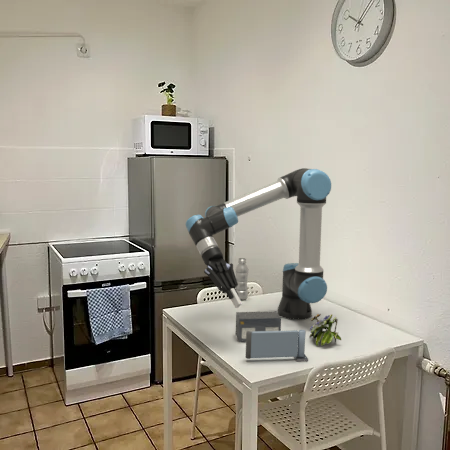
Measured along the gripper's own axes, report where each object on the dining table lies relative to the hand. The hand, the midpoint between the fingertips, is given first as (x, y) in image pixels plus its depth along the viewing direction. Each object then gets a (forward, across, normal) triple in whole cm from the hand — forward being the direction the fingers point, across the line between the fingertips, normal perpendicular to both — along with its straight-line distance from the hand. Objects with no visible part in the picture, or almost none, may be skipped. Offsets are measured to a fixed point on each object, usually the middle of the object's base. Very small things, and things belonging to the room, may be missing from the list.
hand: (238, 305), depth 176 cm
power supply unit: (+9, -14, -14) cm, 22 cm away
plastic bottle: (-19, -44, -43) cm, 64 cm away
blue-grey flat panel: (+21, -4, 0) cm, 22 cm away
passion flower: (+23, -32, 0) cm, 39 cm away
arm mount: (+26, -12, +3) cm, 28 cm away
